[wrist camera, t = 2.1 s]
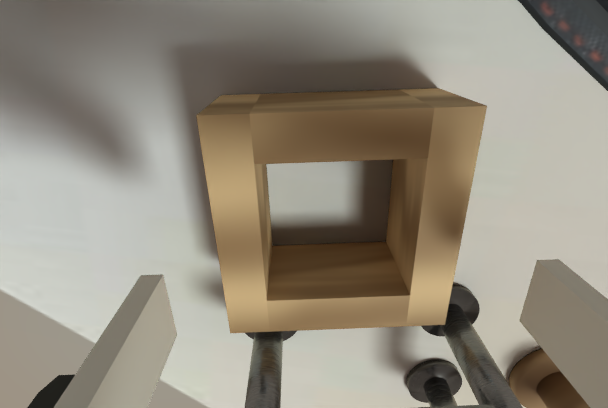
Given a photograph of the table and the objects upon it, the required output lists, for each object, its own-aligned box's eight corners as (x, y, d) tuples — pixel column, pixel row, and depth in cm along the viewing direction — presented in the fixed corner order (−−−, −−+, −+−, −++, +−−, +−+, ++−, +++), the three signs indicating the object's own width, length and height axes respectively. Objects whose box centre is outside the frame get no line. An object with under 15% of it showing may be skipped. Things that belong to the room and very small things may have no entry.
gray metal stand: (237, 292, 23) (209, 422, 15) (480, 283, 23) (573, 406, 16) (253, 402, 28) (237, 544, 20) (454, 394, 28) (515, 531, 20)
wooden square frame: (221, 95, 18) (195, 115, 13) (438, 88, 18) (486, 105, 13) (243, 273, 23) (230, 333, 18) (414, 266, 23) (444, 324, 18)
